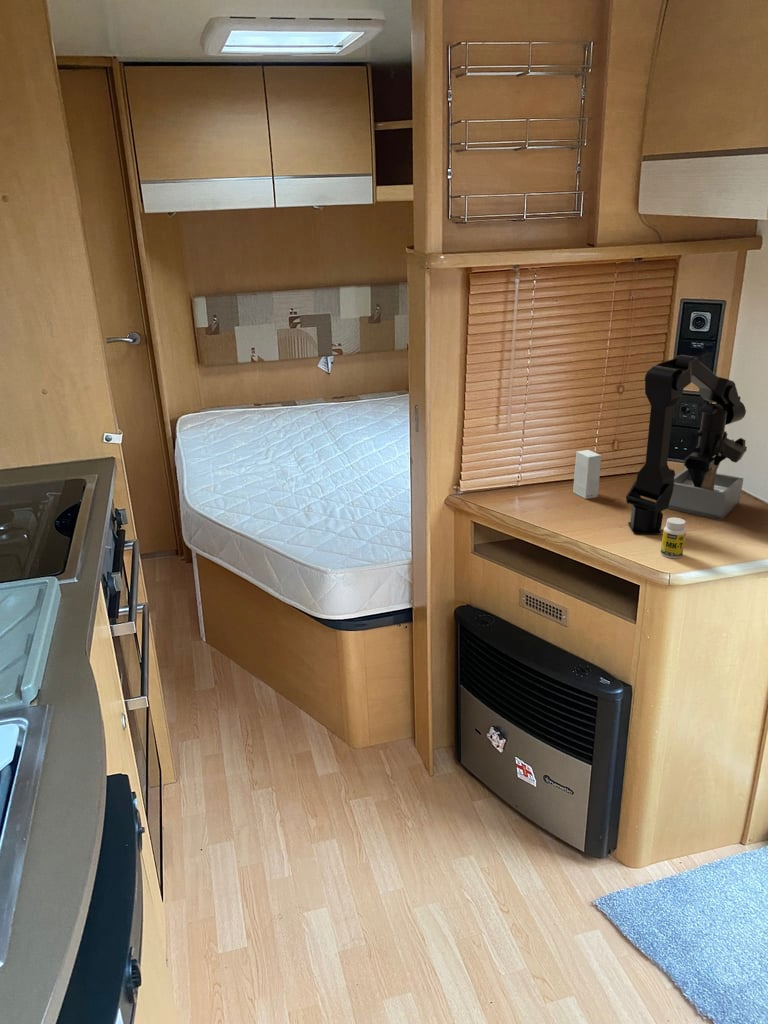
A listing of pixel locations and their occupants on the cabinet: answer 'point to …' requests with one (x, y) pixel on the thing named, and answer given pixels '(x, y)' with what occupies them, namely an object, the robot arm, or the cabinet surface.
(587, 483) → the skincare box
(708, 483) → the walnut peg
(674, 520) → the supplement bottle
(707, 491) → the peg socket
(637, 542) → the cabinet surface
